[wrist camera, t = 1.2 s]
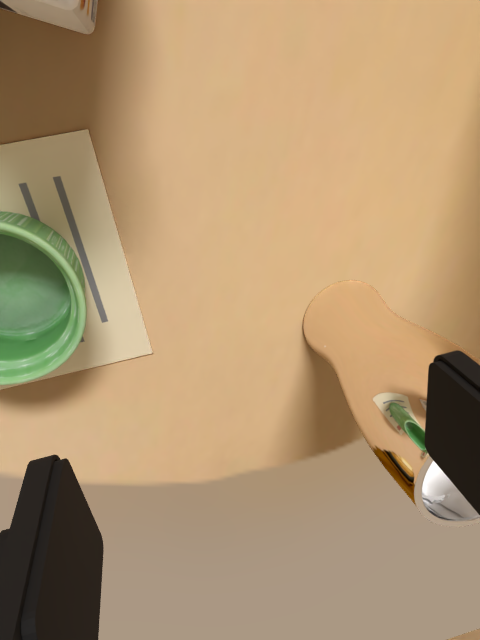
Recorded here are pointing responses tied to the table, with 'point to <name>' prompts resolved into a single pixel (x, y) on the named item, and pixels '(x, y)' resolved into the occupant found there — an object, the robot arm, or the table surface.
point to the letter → (78, 240)
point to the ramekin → (37, 299)
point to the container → (57, 12)
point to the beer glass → (387, 389)
